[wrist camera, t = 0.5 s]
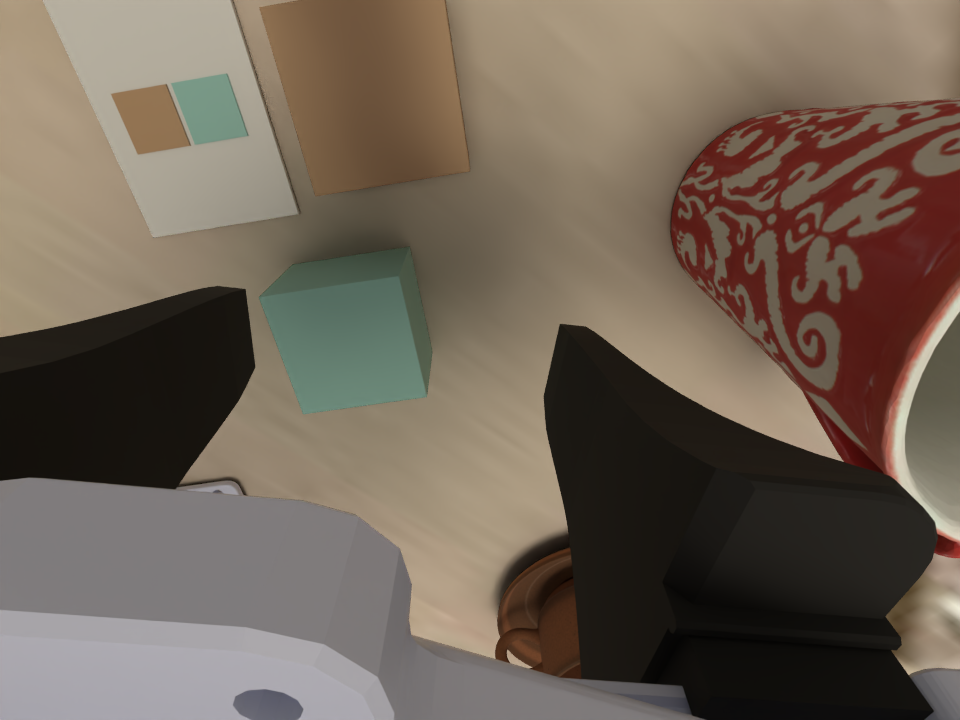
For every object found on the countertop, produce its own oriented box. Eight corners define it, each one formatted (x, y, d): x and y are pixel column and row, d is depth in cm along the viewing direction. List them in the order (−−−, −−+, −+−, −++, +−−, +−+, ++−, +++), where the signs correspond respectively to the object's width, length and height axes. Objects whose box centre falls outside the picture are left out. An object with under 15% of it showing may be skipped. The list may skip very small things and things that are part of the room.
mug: (633, 118, 18) (942, 158, 6) (887, 49, 18) (1776, -53, 6) (659, 395, 24) (847, 682, 12) (850, 353, 23) (1250, 617, 11)
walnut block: (342, 178, 19) (315, 196, 16) (302, 26, 17) (259, 7, 13) (468, 157, 19) (470, 171, 15) (445, 0, 17) (440, -26, 13)
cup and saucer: (530, 664, 35) (542, 769, 29) (467, 556, 29) (467, 660, 24) (699, 621, 33) (745, 724, 28) (664, 498, 28) (713, 596, 22)
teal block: (327, 366, 23) (303, 414, 20) (293, 263, 21) (258, 297, 17) (432, 350, 23) (426, 397, 19) (409, 245, 21) (398, 275, 17)
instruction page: (156, 236, 20) (152, 238, 20) (44, -5, 16) (37, -6, 16) (300, 213, 20) (297, 214, 19) (220, -38, 16) (216, -40, 16)
